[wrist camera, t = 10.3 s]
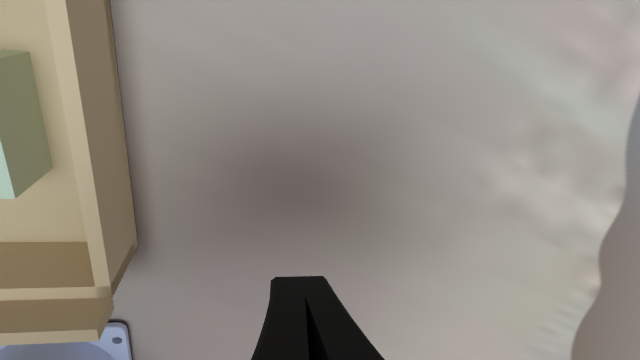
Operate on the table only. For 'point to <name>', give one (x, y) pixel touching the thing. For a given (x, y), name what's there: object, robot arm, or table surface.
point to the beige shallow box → (67, 179)
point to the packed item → (20, 126)
